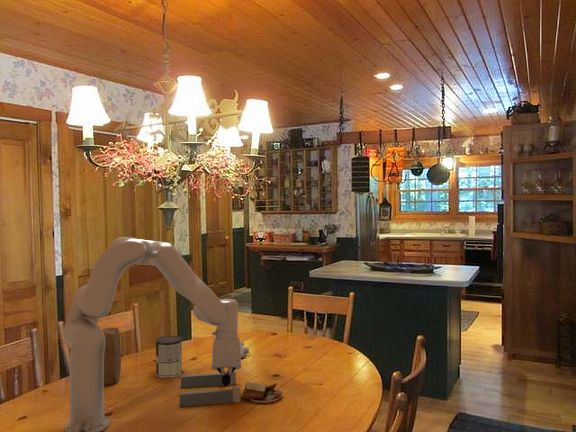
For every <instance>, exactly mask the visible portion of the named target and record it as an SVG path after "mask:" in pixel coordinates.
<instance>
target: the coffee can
mask: <svg viewBox="0 0 576 432" xmlns="http://www.w3.org/2000/svg"><path fill="white" fill-rule="evenodd" d="M182 340H183V337H182V336H179V335H165V336H159V337H157V338H156V339H155V376H156V377H158V378H161V379H171V378H176V377H179V376H182V374H183V362H182V361H183V353H182V348H183V347H182V342H183V341H182Z"/></svg>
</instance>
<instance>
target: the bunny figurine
mask: <svg viewBox="0 0 576 432" xmlns="http://www.w3.org/2000/svg"><path fill="white" fill-rule="evenodd" d="M240 345H241V359H245V355H248V354H250V348H249V347H245V346H244V345H245V343H244V341H240Z"/></svg>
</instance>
